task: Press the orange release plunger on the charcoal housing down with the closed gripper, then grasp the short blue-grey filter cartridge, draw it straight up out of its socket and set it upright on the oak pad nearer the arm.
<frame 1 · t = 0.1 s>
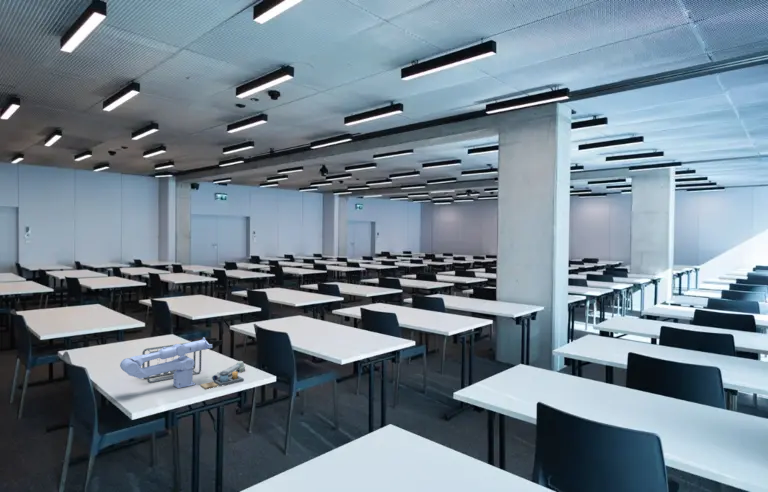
hand: (219, 341, 262), 22 cm above the table, tool horizontal, fingers open, 7 cm apart
pad: (209, 386, 246), on the table
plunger: (234, 375, 257), point 3 cm above the table, slide at 0.0 cm
pale blue tube: (229, 376, 267), on the table
cartridge: (224, 383, 252), resting in housing
housing: (229, 382, 255), on the table
newton's cradle: (172, 376, 263), on the table
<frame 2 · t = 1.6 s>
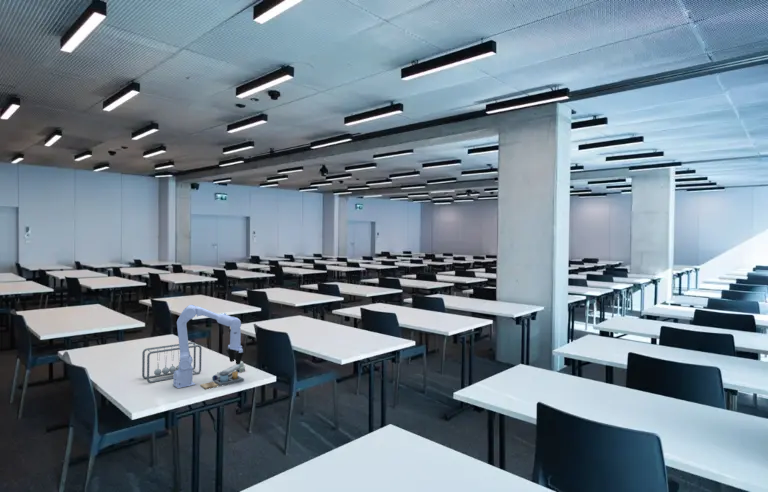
hand: (235, 362, 257), 10 cm above the table, tool pointing down, fingers open, 7 cm apart
nothing on the table moved.
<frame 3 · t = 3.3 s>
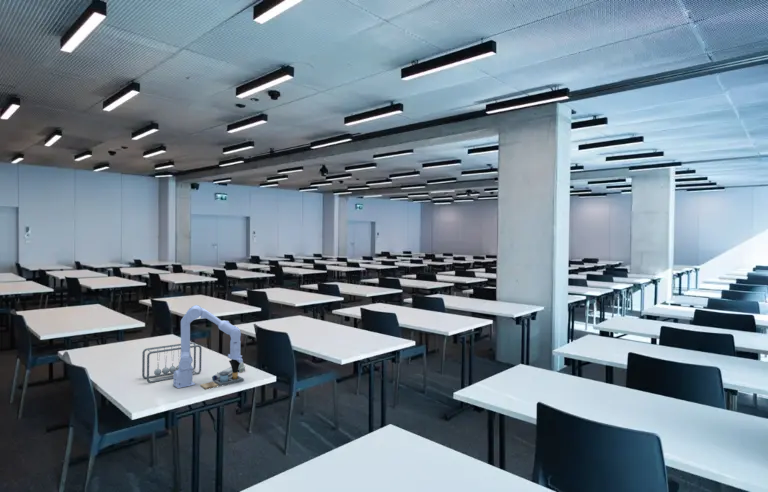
hand: (235, 372, 257), 5 cm above the table, tool pointing down, fingers closed, pressing on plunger
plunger: (234, 375, 257), point 3 cm above the table, slide at 0.2 cm, touching gripper
everything else where it was.
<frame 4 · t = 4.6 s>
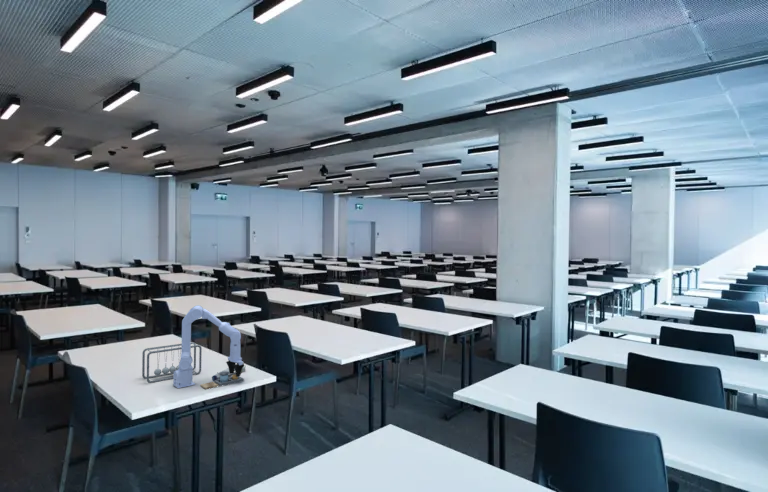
hand: (234, 374, 257), 3 cm above the table, tool pointing down, fingers open, 7 cm apart
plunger: (234, 377, 257), point 2 cm above the table, slide at 1.6 cm
everything else where it was.
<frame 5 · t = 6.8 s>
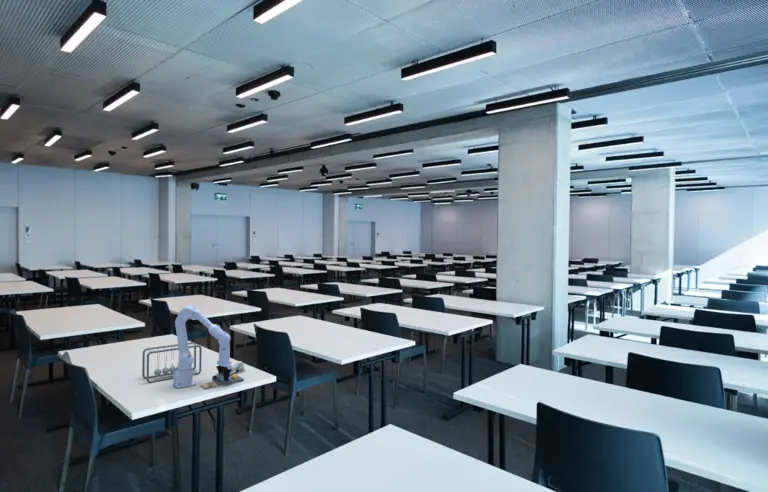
hand: (224, 379, 252), 2 cm above the table, tool pointing down, fingers closed on cartridge, 5 cm apart
cartridge: (224, 383, 252), resting in housing, touching gripper
everything else where it was.
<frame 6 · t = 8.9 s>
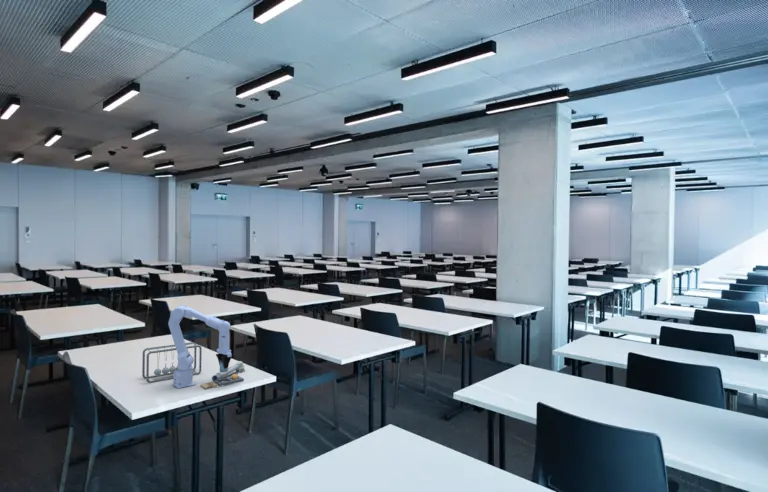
hand: (223, 367, 252), 9 cm above the table, tool pointing down, fingers closed on cartridge, 5 cm apart
cartridge: (223, 371, 252), point 7 cm above the table, touching gripper
everything else where it was.
when the fingers open (4 cm above the table, at t = 10.9 s): cartridge stays where it is, resting on pad.
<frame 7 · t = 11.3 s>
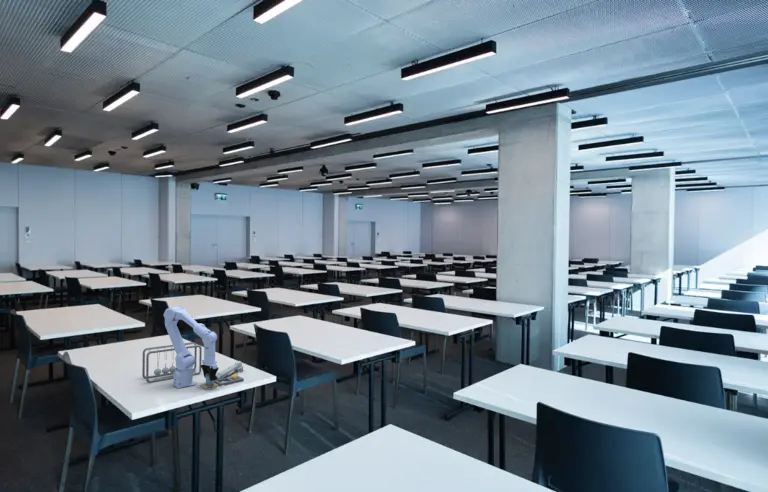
hand: (209, 378, 246), 4 cm above the table, tool pointing down, fingers open, 7 cm apart
cartridge: (209, 384, 247), point 1 cm above the table, touching pad
everything else where it was.
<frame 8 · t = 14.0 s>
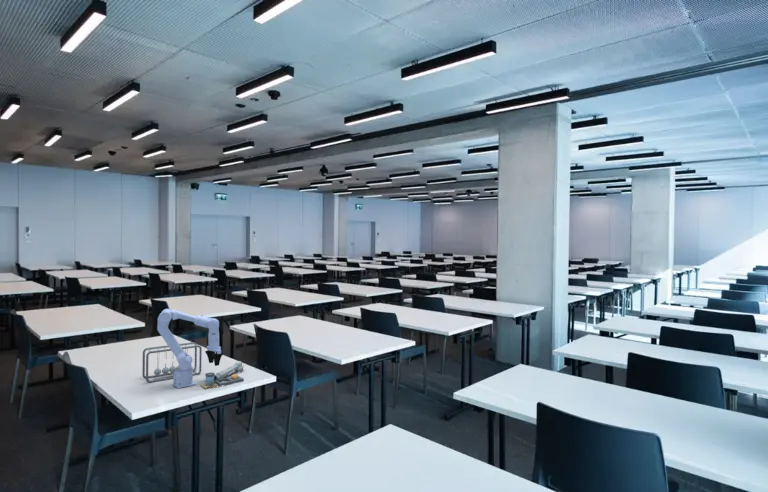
hand: (214, 364, 254), 10 cm above the table, tool pointing down, fingers open, 7 cm apart
nothing on the table moved.
at the end: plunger slide at 1.6 cm; cartridge 0.3 cm off-centre on the pad, point 1.0 cm above the pad's base; cartridge tilted 1° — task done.
